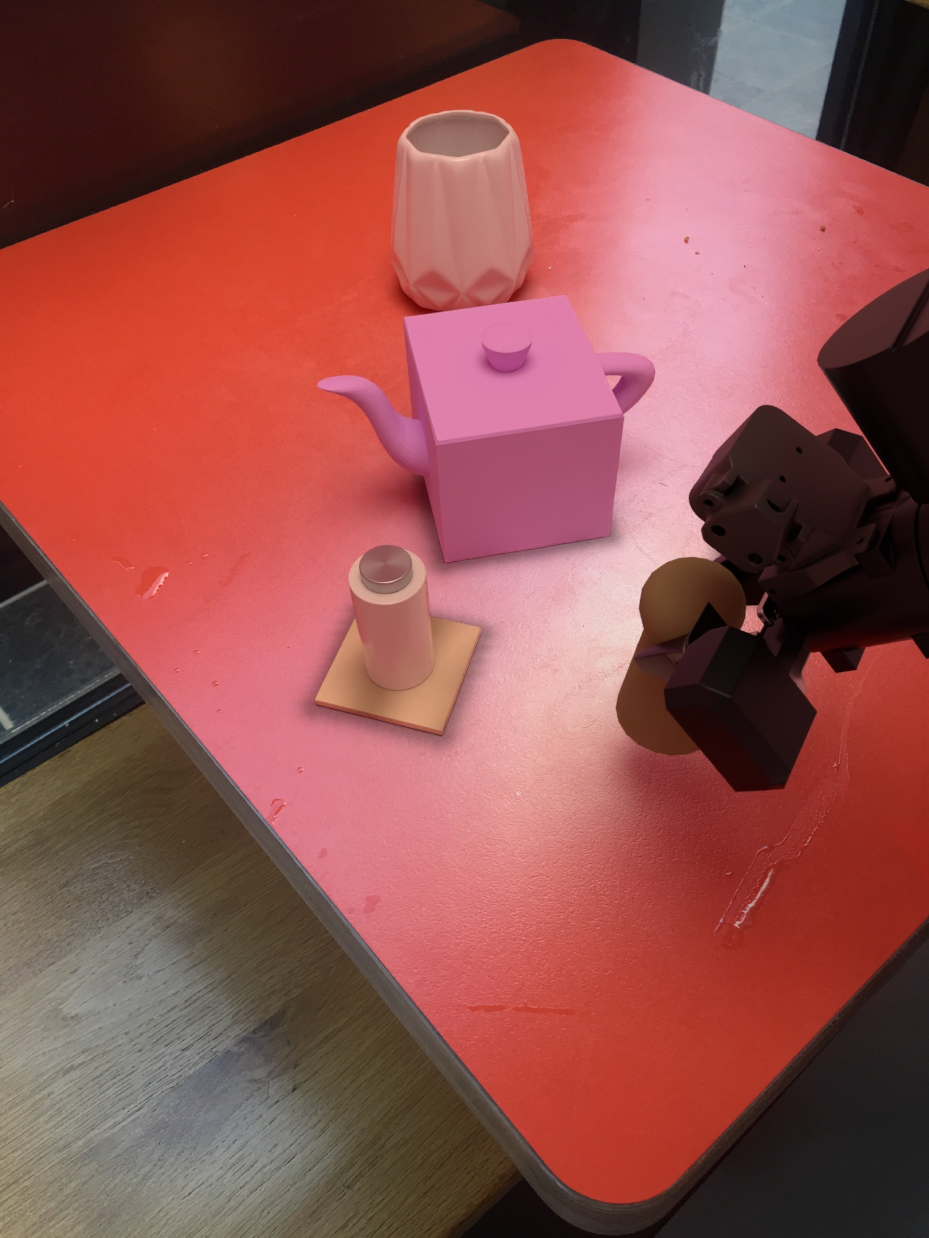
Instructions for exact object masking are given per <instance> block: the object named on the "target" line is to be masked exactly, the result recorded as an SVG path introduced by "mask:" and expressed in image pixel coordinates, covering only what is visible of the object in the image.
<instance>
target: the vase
mask: <svg viewBox="0 0 929 1238" xmlns="http://www.w3.org/2000/svg"><path fill="white" fill-rule="evenodd" d="M521 147H522V146H521V142H520V139H519V136H518V133H516V131H515V129H514V128H513V127H512V125H511V124H510V123H508V122H507V121H506V120H505V119H504V118H502V117H500V116H498V115H496V114H493V113H489V112H486V111H475V110H473V109H452V110H451V109H450V110H443V111H440V112H437V113H436V112H435V113H430V114H426V115H423V116H420V117H418V118H416V119H414V120H413V121H411V122H410V124H408V126H407V127H406V128H405V129H404V130H403V131H402V133H401V135H400V136H399V139H398V141H397V143H396V151H395V162H394V174H393V175H394V177H393V188H392V189H393V190H392V205H391V223H390V263H391V267H392V268H393V271H394V273H395V275H396V276H397V278H398V281H399V284H400V288H401V290H402V291H403V293H404V294H405V295H406V296H407V297H408V298H410V300H412V301H413V302H414V303H415V304H416V305H417V306H419V307H421V308H423V309H428V310H432V311H436V312H445V311H452V310H459V309H466V308H473V307H480V306H487V305H494V304H501V303H508V302H509V301H510V299H511V298H512V295H513V294H514V293H515V292H516V291H518V289H520V288H521V287H522V286H523V284H524V281H525V278H526V274H527V272H528V271H529V269H530V267H531V265H532V263H533V261H534V258H535V251H534V250H535V247H534V233H533V225H532V215H531V208H530V201H529V193H528V187H527V180H526V174H525V173H526V172H525V166H524V160H523V159H524V158H523V153H522V148H521Z"/></svg>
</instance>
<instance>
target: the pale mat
mask: <svg viewBox="0 0 929 1238" xmlns="http://www.w3.org/2000/svg"><path fill="white" fill-rule="evenodd" d="M430 616H431V615H430ZM431 626H432V637H433V647H434V657H435V663H434V667H433V670H432V672H431V674H430V675H429V677H428V678H427V679H426V680H425V681H423V682H422V683H421V684H419V685H417V686H415V687H413V688H410V689H406V690H389V689H386V688H383V687H380V686H379V685H377V684H376V683H374V682H373V681H372V680H371V679H370V677H369V676H368V674H367V672H366V669H365V664H364V659H363V653H362V648H361V643H360V638H359V633H358V628H357V623H356V618H355V617H354V619H353V621H352V623H351V625H350V626H349V629H348V631H347V633H346V635H345V637H344V639H343V641H342V643H341V644H340V646H339V649H338V651H337V653H336V655H335V657H334V659H333V662H332V663H331V664H330V665H331V666H330V667H329V669H328V671H327V674H326V676H325V677H324V679H323V682H322V684H321V686H320V687H319V690H318V692H317V694H316V696H315V697H314V702H315V705H318V706H322V707H326V708H331V709H334V710H338V711H341V712H346V713H350V714H354V715H358V716H362V717H366V718H370V719H375V720H378V721H382V722H387V723H390V724H393V725H394V724H395V725H399V726H403V727H405V728H411V729H415V730H418V731H423V732H427V733H431V734H435V735H439V736H442V735H443V734H444V731H445V729H446V726H447V724H448V721H449V718H450V716H451V713H452V711H453V707H454V705H455V703H456V700H457V698H458V694H459V692H460V690H461V687H462V684H463V682H464V679H465V676H466V673H467V671H468V669H469V666H470V664H471V660H472V658H473V655H474V652H475V649H476V648H477V644H478V642H479V639H480V637H481V634H482V626H478V625H472V624H468V623H463V622H458V621H455V620H450V619H445V618H440V617H436V616H431Z"/></svg>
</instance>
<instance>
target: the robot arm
mask: <svg viewBox="0 0 929 1238" xmlns="http://www.w3.org/2000/svg"><path fill="white" fill-rule="evenodd" d="M816 362H817V365H818V367H819V369H820V370H821V372H822V373H823V375H824V376H825V378H826V380H827V381H828V383H829V385H831V387H832V389H833V390H834V391H835V393H836V395H837V396H838V398H839V399H840V401H841V402H842V404H843V405H844V407H845V408H846V410H847V412H848V413H849V415H850V416H851V418H852V419H853V421H854V422H855V424H856V425H857V427H858V428H859V430H860V432H861V433H862V434H863V435H862V434H861V435H860V434H858V433H855V432H851V431H848V430H845V429H841V428H838V427H834V428H832V429H829V430H827V431H824V432H822V433H819V434H817V435H816V434H814V433H813V432H812V431H810V430H809V429H807V428H806V427H805V426H804V425H802V424H801V423H800V422H798V421H797V420H796V419H794V418H793V417H792V416H791V415H789V414H788V413H786V412H785V411H784V410H782V408H779V407H777V406H775V405H772V404H762V405H759V406H758V407H757V408H756V409H754V410H753V411H752V412H751V414H750V415H749V416H748V417H747V418H746V419H745V420H744V421H743V422H742V423H741V424H740V425H739V426H738V427H737V428H736V429H735V430H734V432H733V433H731V435H730V436H729V437H728V438H727V439H726V440H725V441H724V442H723V443H722V444H721V445H720V446H719V447H718V448H717V449H716V450H715V452H714V453H713V455H712V456H711V459H710V460H709V462H708V463H707V465H706V467H705V468H704V470H703V471H702V472H701V475H700V476H699V477H698V479H697V480H696V481H695V482H694V484H693V485H692V487H691V489H690V491H689V493H688V504H689V506H690V509H691V510H692V512H693V513H694V514H695V516H697V517H698V519H700V520H701V521H702V522H704V523H703V525H702V526H701V528H700V533H701V538H702V540H703V541H704V543H705V544H707V545H708V546H709V547H711V548H712V549H713V550H714V551H716V552H718V554H720V555H719V556H717V557H716V558H714V559H713V560H712V561H714V562H716V563H719V564H721V565H722V566H724V567H725V568H727V569H728V570H729V571H731V572H732V574H733V575H734V576H735V577H736V579H737V580H738V581H739V583H740V584H741V586H742V588H743V591H744V594H745V597H746V607H753V606H754V607H755V606H757V607H756V616H757V618H758V619H759V620H760V622H761V623H762V628H761V629H760V631H759V630H755V631H750V632H747V631H745V630H743V629H737V628H735V627H732V626H728V625H727V624H726V623H725V621H724V620H723V619H722V617H721V616H720V615H719V614H718V612H717V611H716V610H715V608H714V607H713V606H712V605H711V603H710V602H707V603H706V605H705V606H704V608H703V610H702V612H701V613H700V615H699V617H698V619H697V621H696V622H695V624H694V626H693V628H692V629H691V631H690V633H688V634H686V635H683V636H680V637H677V638H674V639H671V640H669V641H666V642H663V643H660V644H657V645H654V646H652V647H650V648H648V649H645V650H643V651H641V652H639V653H637V654H636V655H635V657H634V662H635V663H636V664H637V666H638V667H639V668H640V669H641V670H642V671H643V672H644V673H645V674H648V675H650V676H653V677H655V678H658V679H660V680H663V681H665V682H668V683H667V684H666V686H665V688H664V698H665V706H666V710H667V711H668V712H669V713H670V715H671V716H672V717H673V718H674V719H675V721H676V722H677V723H678V724H679V725H680V727H681V728H682V729H683V730H684V731H685V732H686V734H687V735H688V736H689V737H690V738H691V740H692V741H693V742H694V743H695V744H696V746H697V747H698V748H699V749H700V750H699V751H700V752H701V753H702V754H703V755H704V757H705V758H706V759H707V760H708V761H709V763H710V764H711V765H712V766H713V767H714V768H715V770H716V771H717V772H718V773H719V775H720V776H721V778H723V779H724V780H725V782H726V783H727V784H728V786H730V788H731V789H732V790H733V791H734V792H735V793H741V792H742V793H744V792H746V793H747V792H764V791H765V792H766V791H768V792H769V791H775V790H784V789H785V788H786V785H787V783H788V781H789V778H790V776H791V774H792V771H793V769H794V767H795V765H796V762H797V760H798V758H799V755H800V753H801V752H802V748H803V747H804V744H805V742H806V739H807V738H808V737H807V736H808V734H809V732H810V730H811V727H812V726H813V724H814V721H815V719H816V716H817V714H818V711H817V709H816V708H815V707H814V705H813V704H812V703H811V701H810V700H809V698H808V697H807V696H806V683H805V680H804V677H803V671H804V669H805V667H806V665H807V663H808V661H809V659H810V656H811V654H815V653H816V654H817V653H819V654H821V656H822V657H823V659H824V660H825V661H826V662H827V664H828V665H829V666H830V668H831V670H832V671H833V672H834V673H835V674H841V673H846V672H853V671H857V670H858V667H859V666H860V662H861V661H862V658H863V655H864V653H865V650H866V648H871V647H876V646H882V645H888V644H893V643H894V644H895V643H899V642H905V641H911V640H912V641H913V642H914V644H915V646H917V648H918V650H919V651H920V653H921V654H922V655H923V657H924V658H925V659H926V660H928V659H929V267H928V268H926V269H924V270H921V271H920V272H918V273H916V274H914V275H912V276H910V277H909V278H906V279H905V280H903V281H901V282H899V283H898V284H896V285H894V286H893V287H891V288H889V289H888V290H886V291H884V292H883V293H882V294H880V295H879V296H877V297H876V298H875V299H873V300H872V301H870V302H868V304H866V305H864V306H863V307H862V308H860V309H859V310H858V311H857V312H855V313H854V314H853V315H852V316H850V317H849V318H848V319H847V320H846V321H845V322H843V324H842V325H840V327H838V328H837V329H836V330H835V331H834V332H833V333H832V334H831V336H830V337H829V338H828V339H827V340H826V341H825V343H824V344H823V345H822V346H821V348H820V350H819V352H818V355H817V358H816Z"/></svg>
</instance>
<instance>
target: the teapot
mask: <svg viewBox="0 0 929 1238" xmlns="http://www.w3.org/2000/svg"><path fill="white" fill-rule="evenodd" d="M402 324H403V331H404V332H403V333H404V334H403V335H404V343H405V355H406V364H407V376H408V385H409V387H408V388H409V396H410V405H411V417H408V416H404V415H402V414H400V412H398V411H397V410H396V409H395V408H394V406H393V405H392V403H391V402H390V400H389V397H387V395H386V394H385V392H384V391H383V390H382V389H381V387H380V386H379V385H378V384H377V383H375V382H373V380H372V381H371V380H370V379H367V378H366V377H362V376H358V375H352V374H351V375H347V374H346V375H335V376H334V375H333V376H330V377H326V378H323V379H321V380H319V381H318V382H317V383H316V386H317V387H318V389H320V390H322V391H323V392H327V393H331V394H334V395H337V396H338V395H339V396H341V397H345V398H346V399H348V400H350V401H351V402H352V403H354V404H355V405H357V406H358V408H360V410H362V412H363V413H364V415H365V416H366V418H367V419H368V421H369V423H370V424H371V425H370V426H372V428H373V430H374V432H375V434H376V436H377V438H378V440H379V442H380V444H381V445H382V447H383V449H384V450H385V452H386V453H387V455H388V456H389V457H390V458H391V460H392V461H393V462H395V463H396V464H397V465H399V466H400V467H401V468H402V469H404V470H406V471H409V472H410V473H411V474H415V475H418V476H422V477H423V479H424V482H425V487H426V491H427V494H428V499H429V504H430V507H431V511H432V517H433V519H434V524H435V528H436V532H437V536H438V539H439V543H440V548H441V552H442V556H443V560H444V563H445V564H446V563H447V564H448V563H451V562H453V563H454V562H460V561H464V560H472V559H478V558H483V557H490V556H495V555H502V554H508V553H514V552H520V551H527V550H533V549H539V548H545V547H551V546H556V545H564V544H569V543H575V542H581V541H587V540H593V539H600V538H606V537H610V535H611V528H612V521H613V511H614V504H615V495H616V487H617V479H618V472H619V463H620V456H621V447H622V438H623V431H624V424H625V414H626V413H627V412H629V411H630V410H631V409H632V408H634V406H635V405H636V404H637V403H638V402H640V400H641V399H642V398H643V397H644V396H645V394H647V392H648V391H649V389H650V388H651V386H652V384H653V383H654V381H655V377H656V368H655V365H654V363H653V362H652V361H651V360H650V359H649V358H648V357H646V356H644V355H642V354H640V353H639V354H638V353H633V352H624V351H621V352H620V351H618V352H617V351H614V352H613V351H612V352H609V351H608V352H607V351H606V352H596V353H595V351H594V348H593V346H592V344H591V343H590V340H589V338H588V336H587V334H586V332H585V330H584V328H583V326H582V324H581V322H580V320H579V318H578V315H577V314H576V311H575V310H574V308H573V306H572V304H571V302H570V300H569V298H568V296H567V294H562V295H554V296H548V297H541V298H533V299H532V298H531V299H526V300H519V301H508V302H506V303H501V304H494V305H487V306H480V307H473V308H466V309H459V310H452V311H445V312H439V311H437V312H432V313H425V314H418V315H417V314H416V315H410V316H409V315H408V316H404V317H403V318H402ZM607 376H619V377H620V379H619V380H618V382H617V383H616V384H615V386H614V387H613V388H612V386H611V385H610V383H609V381H608V378H607Z"/></svg>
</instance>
